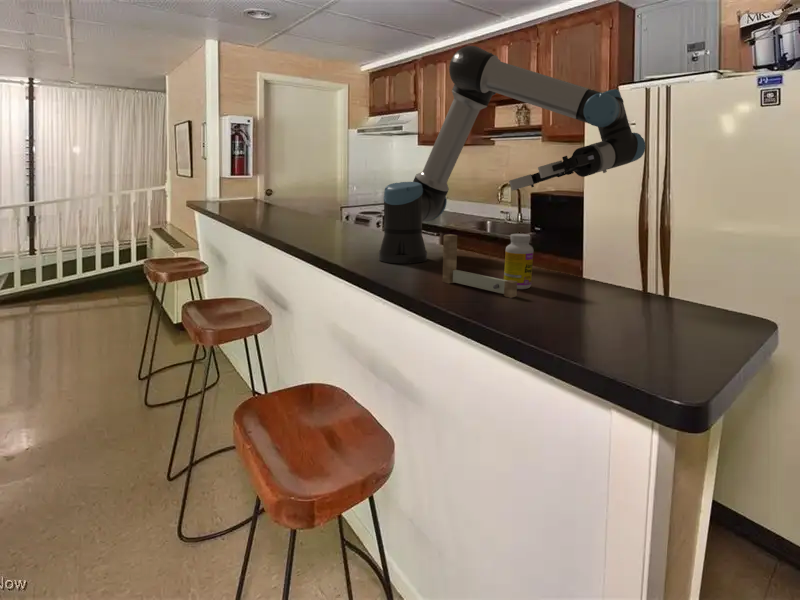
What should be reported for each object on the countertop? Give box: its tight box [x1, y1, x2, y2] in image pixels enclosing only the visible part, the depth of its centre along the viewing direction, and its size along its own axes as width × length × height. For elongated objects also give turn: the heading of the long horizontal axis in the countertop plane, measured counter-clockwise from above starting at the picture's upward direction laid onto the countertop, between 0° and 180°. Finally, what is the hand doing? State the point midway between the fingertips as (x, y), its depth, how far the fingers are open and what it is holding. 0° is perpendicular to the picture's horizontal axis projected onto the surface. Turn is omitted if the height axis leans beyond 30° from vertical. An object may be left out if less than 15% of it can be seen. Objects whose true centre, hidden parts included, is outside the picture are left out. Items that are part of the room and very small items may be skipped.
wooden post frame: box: [442, 233, 518, 299], centre depth 128 cm, size 22×2×12 cm, turn 41°
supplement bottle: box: [503, 233, 534, 290], centre depth 130 cm, size 7×7×13 cm
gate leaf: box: [453, 269, 508, 295], centre depth 128 cm, size 16×2×3 cm, turn 41°
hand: (524, 179), depth 134 cm, fingers open, 13 cm apart
